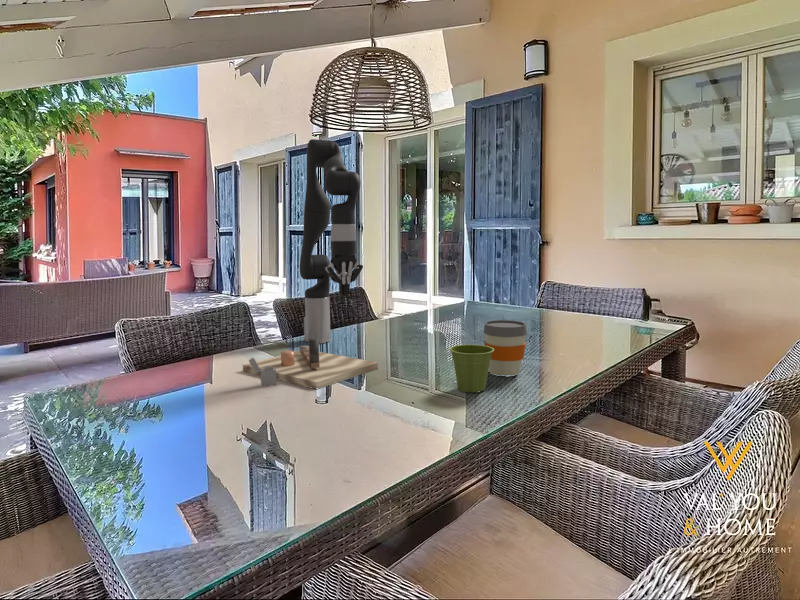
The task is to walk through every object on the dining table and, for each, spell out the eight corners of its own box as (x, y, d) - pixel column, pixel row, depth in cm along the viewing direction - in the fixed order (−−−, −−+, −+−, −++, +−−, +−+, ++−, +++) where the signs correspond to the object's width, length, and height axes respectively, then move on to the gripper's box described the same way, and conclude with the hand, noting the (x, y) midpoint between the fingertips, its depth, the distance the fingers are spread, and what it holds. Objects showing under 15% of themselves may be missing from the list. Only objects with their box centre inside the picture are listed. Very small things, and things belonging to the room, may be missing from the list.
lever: (299, 352, 177) (298, 328, 176) (308, 351, 178) (307, 327, 177) (310, 368, 157) (309, 341, 155) (320, 367, 157) (319, 340, 156)
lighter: (276, 383, 151) (275, 355, 150) (276, 385, 150) (275, 357, 149) (250, 385, 149) (248, 357, 148) (250, 387, 148) (248, 359, 147)
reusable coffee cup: (494, 365, 169) (495, 318, 167) (532, 371, 161) (533, 322, 159) (475, 374, 159) (476, 324, 157) (515, 381, 151) (516, 329, 149)
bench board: (242, 371, 164) (242, 364, 164) (305, 354, 185) (305, 349, 185) (317, 389, 145) (316, 382, 145) (377, 368, 166) (377, 362, 166)
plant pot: (500, 387, 146) (501, 346, 144) (482, 399, 136) (483, 355, 135) (461, 381, 152) (461, 342, 151) (441, 391, 142) (441, 350, 141)
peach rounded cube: (278, 365, 163) (277, 352, 163) (288, 362, 167) (288, 349, 166) (287, 367, 161) (286, 354, 160) (297, 364, 164) (296, 351, 164)
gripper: (355, 238, 169) (355, 293, 171) (318, 239, 161) (319, 296, 163) (368, 239, 163) (369, 295, 165) (330, 240, 155) (332, 299, 157)
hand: (344, 296), depth 164 cm, fingers closed
